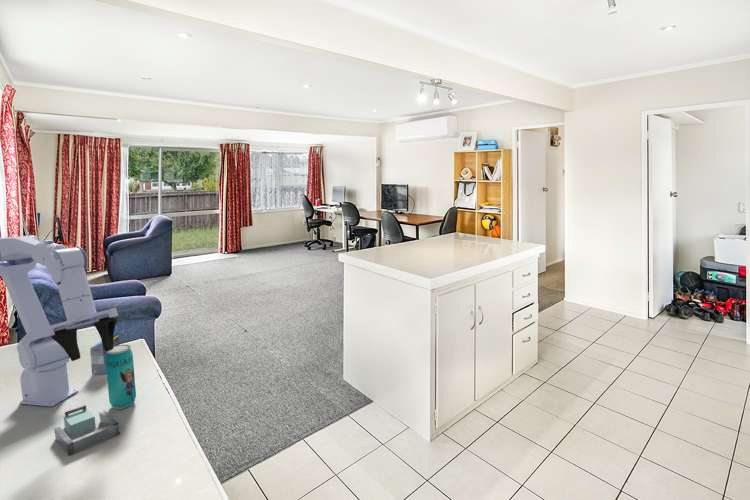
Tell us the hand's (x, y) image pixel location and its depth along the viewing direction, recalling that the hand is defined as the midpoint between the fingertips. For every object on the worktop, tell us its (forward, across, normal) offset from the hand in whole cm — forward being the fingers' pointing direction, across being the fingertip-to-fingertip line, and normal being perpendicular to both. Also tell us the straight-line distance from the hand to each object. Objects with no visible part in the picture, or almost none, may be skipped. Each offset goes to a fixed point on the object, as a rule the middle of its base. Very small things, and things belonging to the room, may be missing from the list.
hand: (92, 355), depth 93 cm
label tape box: (+7, -17, +31) cm, 36 cm away
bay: (+17, -3, -4) cm, 17 cm away
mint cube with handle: (+15, -6, -1) cm, 17 cm away
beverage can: (+15, -2, +9) cm, 18 cm away
